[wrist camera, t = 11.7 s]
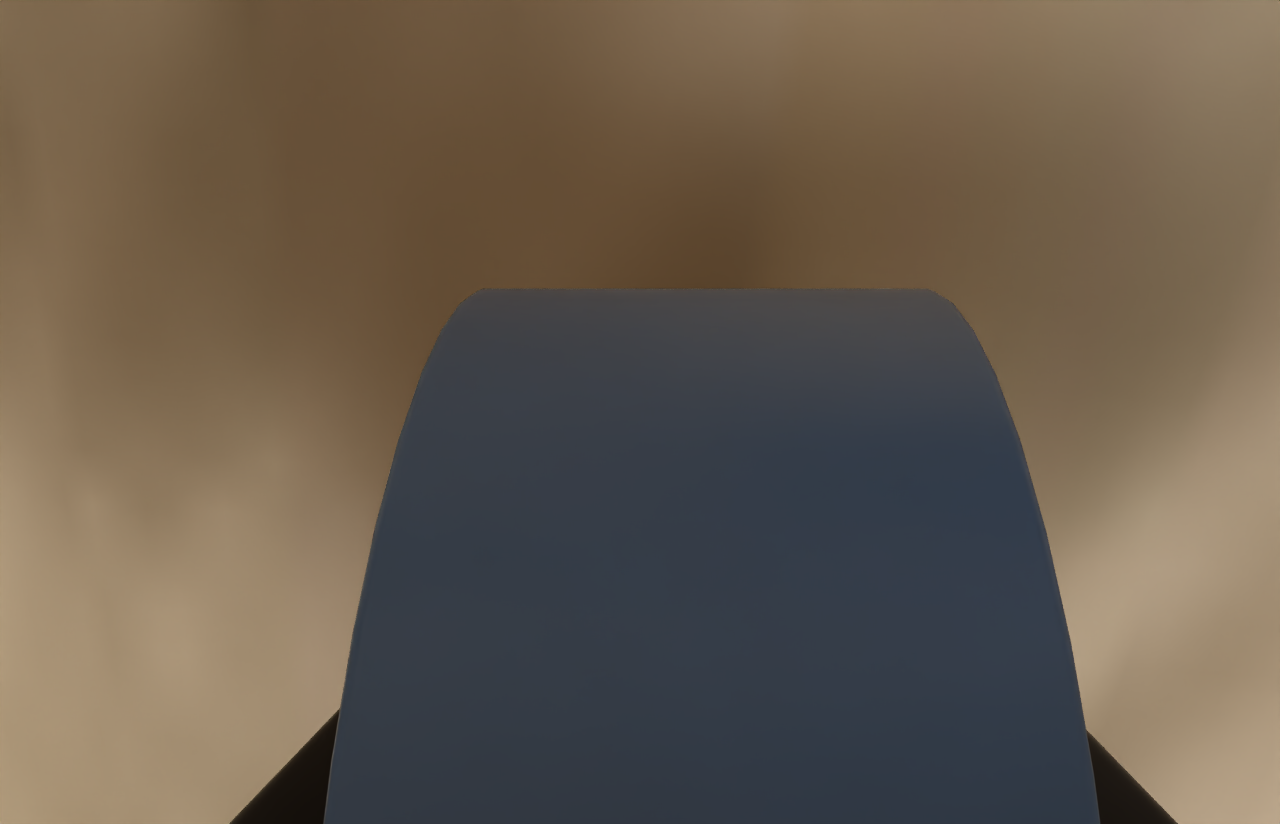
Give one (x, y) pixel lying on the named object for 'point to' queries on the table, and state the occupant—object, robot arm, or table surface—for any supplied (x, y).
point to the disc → (710, 574)
